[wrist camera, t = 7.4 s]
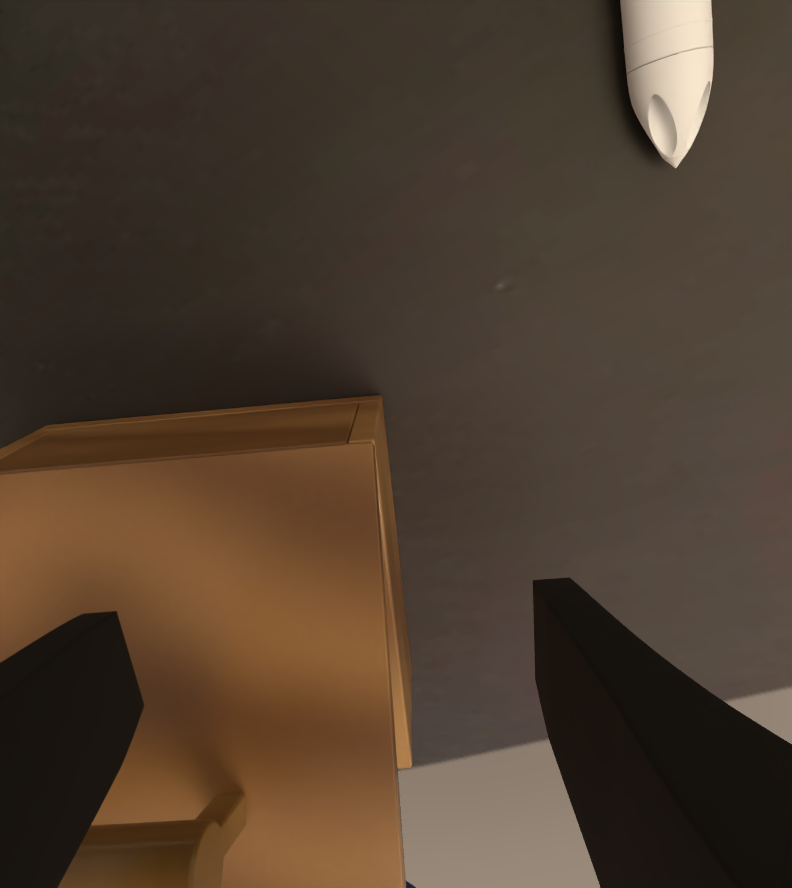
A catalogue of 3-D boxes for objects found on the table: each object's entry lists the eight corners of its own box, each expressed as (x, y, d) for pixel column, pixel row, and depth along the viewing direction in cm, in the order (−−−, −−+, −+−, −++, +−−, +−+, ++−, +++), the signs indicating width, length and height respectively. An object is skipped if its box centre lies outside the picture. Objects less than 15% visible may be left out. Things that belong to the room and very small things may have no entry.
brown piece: (411, 964, 13) (401, 1147, 9) (-89, 985, 13) (-307, 1167, 9) (374, 445, 15) (353, 408, 11) (-57, 482, 15) (-225, 459, 12)
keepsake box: (411, 666, 23) (412, 769, 18) (125, 686, 23) (59, 790, 19) (382, 394, 19) (374, 439, 15) (47, 424, 20) (-57, 476, 15)
